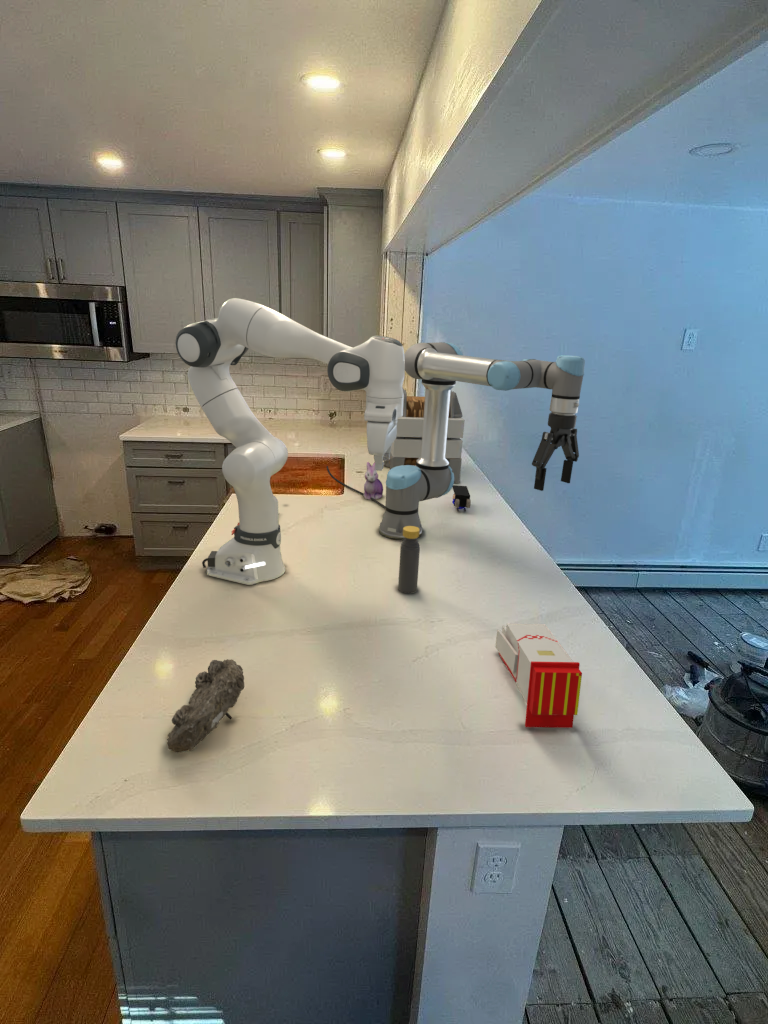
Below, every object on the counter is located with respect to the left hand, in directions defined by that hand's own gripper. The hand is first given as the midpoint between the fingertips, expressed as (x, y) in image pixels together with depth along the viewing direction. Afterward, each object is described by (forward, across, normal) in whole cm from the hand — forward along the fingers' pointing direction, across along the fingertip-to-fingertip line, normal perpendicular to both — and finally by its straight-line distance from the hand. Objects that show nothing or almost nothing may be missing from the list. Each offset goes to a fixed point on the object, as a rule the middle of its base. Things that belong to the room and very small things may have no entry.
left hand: (382, 465), depth 138 cm
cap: (+21, -11, +7) cm, 24 cm away
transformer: (+39, -132, -4) cm, 138 cm away
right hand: (+11, -32, +45) cm, 57 cm away
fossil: (+38, +50, -23) cm, 67 cm away
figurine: (+38, -89, -19) cm, 99 cm away
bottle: (+39, -11, +6) cm, 41 cm away
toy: (+39, +26, +38) cm, 60 cm away
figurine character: (+39, -87, +18) cm, 97 cm away
